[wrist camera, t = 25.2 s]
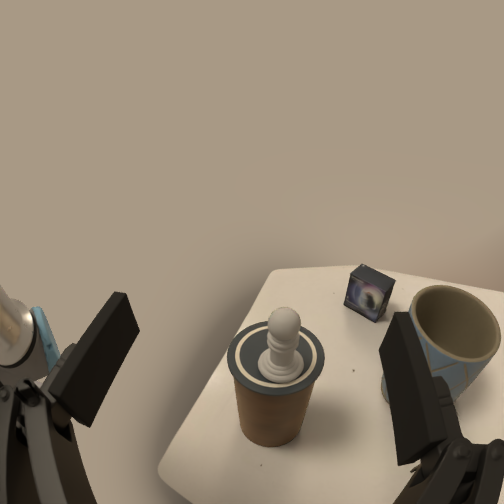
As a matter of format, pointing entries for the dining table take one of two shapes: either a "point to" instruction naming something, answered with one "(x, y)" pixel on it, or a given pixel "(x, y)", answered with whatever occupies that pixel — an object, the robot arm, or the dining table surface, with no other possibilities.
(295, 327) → the chess piece
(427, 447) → the robot arm
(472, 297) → the planter
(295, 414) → the walnut pedestal
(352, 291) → the small box
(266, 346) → the slate board
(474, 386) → the dining table surface
